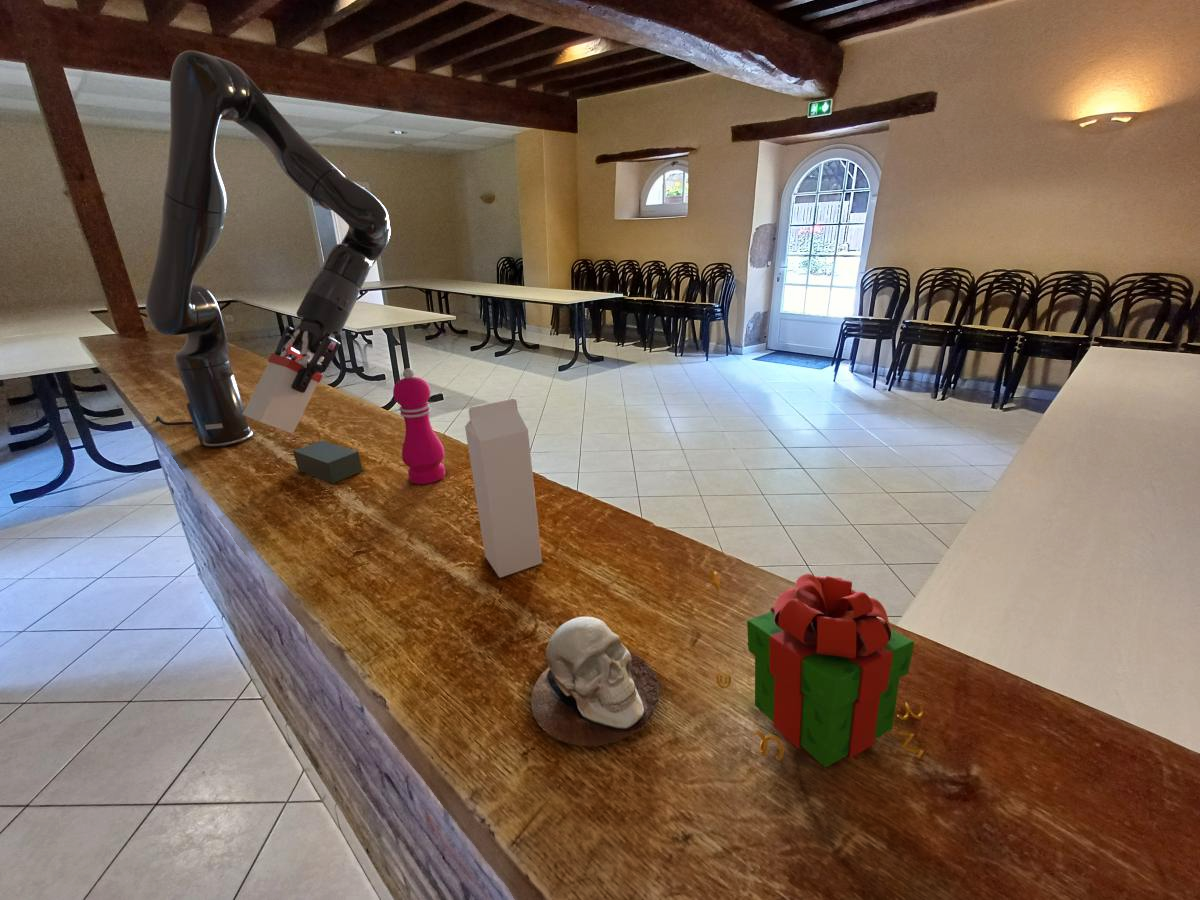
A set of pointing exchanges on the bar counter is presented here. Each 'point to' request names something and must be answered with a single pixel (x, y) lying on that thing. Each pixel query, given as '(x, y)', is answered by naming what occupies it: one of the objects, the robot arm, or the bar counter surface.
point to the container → (280, 395)
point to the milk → (504, 486)
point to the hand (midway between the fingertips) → (286, 386)
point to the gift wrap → (827, 669)
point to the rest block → (328, 461)
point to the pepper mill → (418, 430)
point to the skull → (592, 686)
